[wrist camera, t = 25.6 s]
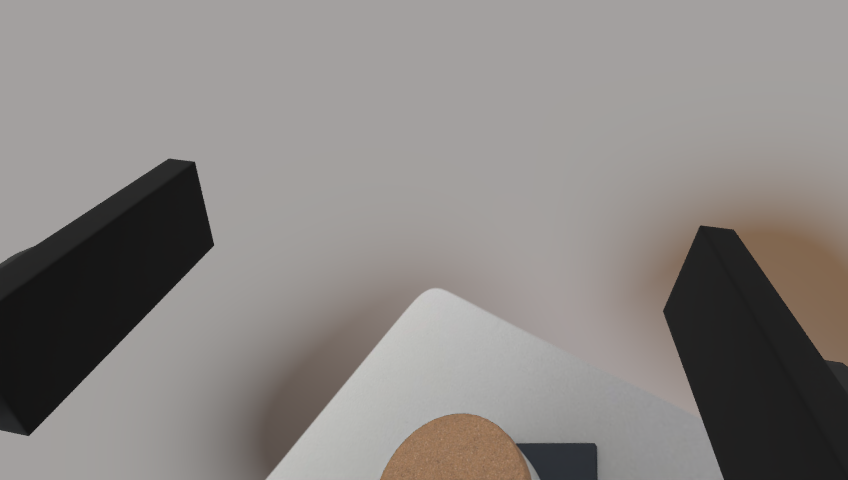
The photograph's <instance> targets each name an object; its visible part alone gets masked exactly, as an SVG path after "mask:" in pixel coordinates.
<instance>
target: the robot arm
mask: <svg viewBox="0 0 848 480" xmlns="http://www.w3.org/2000/svg"><path fill="white" fill-rule="evenodd" d="M213 246H214V243H213V238H212V234H211V229H210V225H209V221H208V216H207V212H206V208H205V204H204V199H203V195H202V191H201V187H200V182H199V178H198V174H197V169H196V165H195V162H192V161H183V160H176V159H168V160H166V161H165V162H163V163H162V164H160V165H158V166H157V167H155V168H154V169H152V170H151V171H149V172H148V173H146V174H145V175H143V176H142V177H140V178H138V179H137V180H135V181H134V182H133V183H131V184H129V185H128V186H126V187H125V188H123V189H122V190H120V191H119V192H117V193H116V194H114V195H112V196H111V197H109V198H108V199H106V200H105V201H103V202H102V203H100V204H99V205H97V206H96V207H94V208H93V209H91V210H90V211H88V212H87V213H85V214H83V215H82V216H80V217H79V218H78V219H76V220H74V221H73V222H71V223H70V224H68V225H67V226H65V227H63V228H62V229H60V230H59V231H57V232H56V233H54V234H53V235H51V236H50V237H48V238H47V239H45V240H44V241H42V242H41V243H39V244H37V245H36V246H34V247H31V248H29V249H26V250H24V251H22V252H19V253H17V254H15V255H13V256H12V257H10V258H8V259H7V260H5V261H4V262H2V263H1V264H0V430H2V431H8V432H12V433H17V434H21V435H26V436H29V435H30V434H31V433H32V432H33V431H34V430H35V429H36V428H37V427H38V426H39V425H40V424H41V423H42V422H43V421H44V420H45V419H46V418H47V417H48V416H49V415H50V414H51V413H52V412H53V411H54V410H55V409H56V408H57V407H58V406H59V404H60V403H61V402H62V401H63V400H64V399H65V398H66V397H67V396H68V395H69V394H70V393H71V392H72V391H73V390H74V389H75V388H76V387H77V386H78V385H79V384H80V383H81V382H82V380H84V379H85V378H86V377H87V376H88V375H89V374H90V372H92V371H93V370H94V368H95V367H96V366H97V365H98V364H99V363H100V362H101V361H102V360H103V359H104V358H105V357H106V356H107V355H108V354H109V353H110V352H111V351H112V350H113V349H114V348H115V347H116V346H117V345H118V344H119V343H120V342H121V341H122V340H123V339H124V338H125V337H126V336H127V335H128V333H129V332H130V331H131V330H132V329H133V328H134V327H135V326H136V325H137V324H138V323H139V322H140V321H141V320H142V319H143V318H144V317H145V316H146V315H147V314H148V313H149V312H150V311H151V310H152V309H153V308H154V307H155V305H157V303H159V302H160V301H161V299H163V297H164V296H165V295H166V294H167V293H168V292H169V291H170V290H171V289H172V288H173V287H174V286H175V285H176V284H177V283H178V282H179V281H180V280H181V279H182V278H183V277H184V276H185V275H186V274H187V273H188V272H189V271H190V269H192V268H193V267H194V266H195V264H196V263H197V262H198V261H199V260H200V259H201V258H202V257H203V256H204V255H205V254H206V253H207V252H208V251H209V250H210V249H211V248H212V247H213ZM663 312H664V315H665V318H666V321H667V323H668V326H669V329H670V332H671V335H672V337H673V340H674V343H675V345H676V348H677V351H678V353H679V357H680V359H681V362H682V365H683V368H684V370H685V373H686V376H687V378H688V381H689V384H690V387H691V390H692V393H693V395H694V398H695V401H696V403H697V406H698V409H699V412H700V415H701V417H702V420H703V423H704V426H705V428H706V431H707V434H708V437H709V439H710V442H711V445H712V448H713V450H714V453H715V456H716V459H717V462H718V464H719V467H720V470H721V473H722V475H723V478H724V480H848V367H847V366H846V365H845V364H843V363H840V362H833V361H826V360H824V359H823V358H822V356H821V355H820V353H819V352H818V351H817V349H816V348H815V346H814V345H813V343H812V342H811V340H810V339H809V338H808V336H807V335H806V333H805V332H804V330H803V329H802V327H801V326H800V324H799V323H798V322H797V320H796V319H795V317H794V316H793V314H792V313H791V311H790V310H789V309H788V307H787V306H786V304H785V303H784V301H783V300H782V298H781V297H780V296H779V294H778V293H777V292H776V290H775V288H774V287H773V286H772V284H771V283H770V281H769V280H768V278H767V277H766V275H765V274H764V273H763V271H762V270H761V268H760V267H759V266H758V264H757V262H756V261H755V260H754V258H753V257H752V255H751V254H750V252H749V251H748V250H747V248H746V247H745V245H744V244H743V242H742V241H741V239H740V238H739V236H738V235H737V234H736V232H735V231H734V230H732V229H724V228H716V227H708V226H700V227H699V230H698V232H697V234H696V236H695V239H694V241H693V243H692V246H691V248H690V250H689V252H688V255H687V257H686V260H685V262H684V264H683V266H682V269H681V271H680V273H679V276H678V278H677V280H676V283H675V285H674V287H673V289H672V292H671V294H670V297H669V299H668V301H667V303H666V306H665V308H664V310H663Z"/></svg>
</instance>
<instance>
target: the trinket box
mask: <svg viewBox="0 0 848 480" xmlns="http://www.w3.org/2000/svg"><path fill="white" fill-rule="evenodd" d="M380 480H540V478H539V476H538V475H537V473H536V471H535V469H534V468H533V466H532V464H531V463H530V462H529V460H528V459H527V458H526V457H525V455H524V454H523V453H522V452H521V451H520V449H519V448H518V447H517V445H516V444H515V443H514V441H513V440H512V439H511V438H510V437H509V435H507V434H506V433H505V432H504V431H503V430H502V429H501V428H500V427H499V426H498V425H496V424H494V423H493V422H491V421H489V420H488V419H485V418H482V417H480V416H477V415H471V414H452V415H447V416H443V417H440V418H437V419H434V420H432V421H430V422H428V423H427V424H425V425H423V426H422V427H420V428H419V429H417V430H416V431H414V432H413V433H412V434H411V435H410V436H409V437H408V438H407V439H406V440H405V441H404V442H403V443H402V444H401V445H400V446H399V448H398V449H397V450H396V451H395V453H394V454H393V456H392V457H391V459H390V461H389V462H388V464H387V466H386V468H385V470H384V471H383V474H382V476H381V479H380Z"/></svg>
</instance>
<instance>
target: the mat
mask: <svg viewBox="0 0 848 480" xmlns="http://www.w3.org/2000/svg"><path fill="white" fill-rule="evenodd" d="M516 445H517V447H518V448H519V449H520V451H521V452H522V453H523V454H524V455H525V457H526V458H527V459H528V460H529V462H530V463H531V464H532V466H533V468H534V469H535V471H536V473H537V475H538V476H539V478H540V480H597V446H596V445H595V444H594V443H530V444H516Z"/></svg>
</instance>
